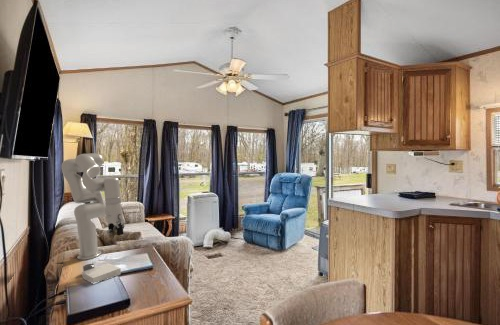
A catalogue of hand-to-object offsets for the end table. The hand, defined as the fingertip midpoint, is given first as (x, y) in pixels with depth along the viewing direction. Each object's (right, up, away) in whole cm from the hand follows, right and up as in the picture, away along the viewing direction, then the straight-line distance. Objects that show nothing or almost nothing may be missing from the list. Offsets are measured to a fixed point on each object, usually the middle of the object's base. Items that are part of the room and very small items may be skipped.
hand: (116, 233), depth 157 cm
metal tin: (-11, -19, -5) cm, 23 cm away
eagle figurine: (0, -2, +1) cm, 3 cm away
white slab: (-3, -19, -10) cm, 21 cm away
